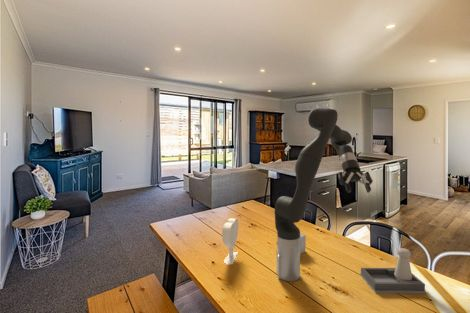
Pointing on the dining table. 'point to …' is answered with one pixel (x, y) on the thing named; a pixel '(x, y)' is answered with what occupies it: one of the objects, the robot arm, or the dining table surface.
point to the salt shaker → (403, 266)
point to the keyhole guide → (390, 281)
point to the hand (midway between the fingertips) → (359, 191)
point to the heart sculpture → (230, 238)
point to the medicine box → (302, 243)
